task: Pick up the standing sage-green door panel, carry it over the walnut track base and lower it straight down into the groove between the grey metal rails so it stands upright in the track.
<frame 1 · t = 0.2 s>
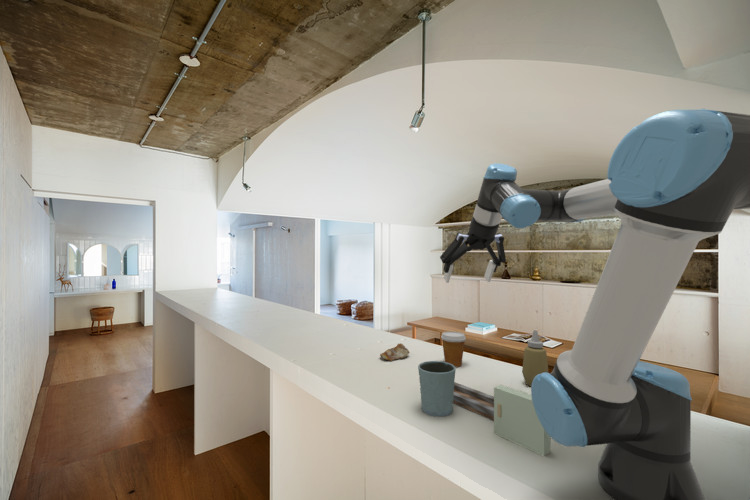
hand: (466, 279, 107), 35 cm above the worktop, tool tilted 35°, fingers open, 13 cm apart
squeeze bottle: (535, 385, 114), on the worktop
disposable coffee cup: (453, 365, 134), on the worktop
teal cup: (436, 410, 95), on the worktop
decorative stone: (394, 358, 143), on the worktop
door panel: (520, 441, 79), on the worktop
track base: (472, 403, 99), on the worktop
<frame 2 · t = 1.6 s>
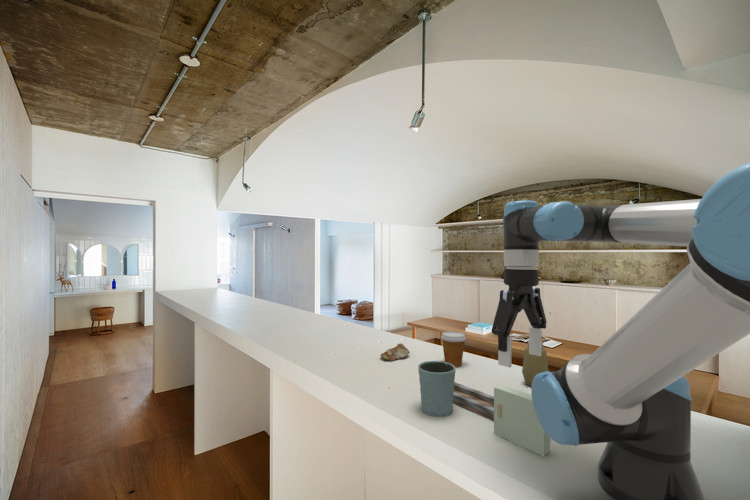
hand: (520, 360, 79), 19 cm above the worktop, tool pointing down, fingers open, 13 cm apart
nothing on the worktop moved.
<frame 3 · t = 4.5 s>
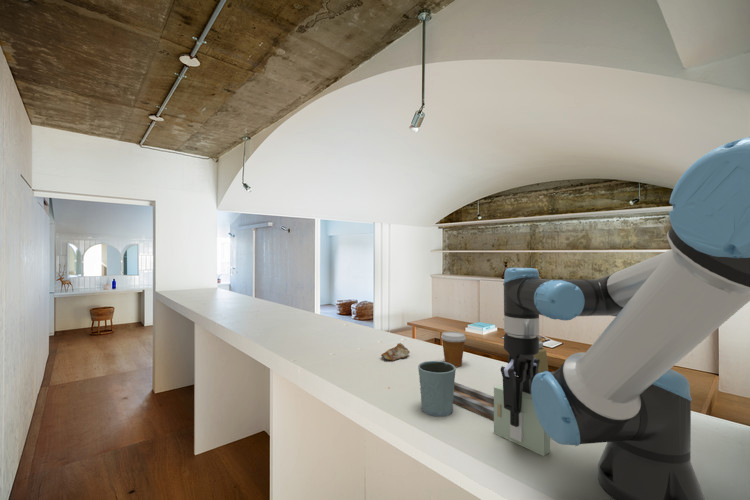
hand: (520, 436, 79), 1 cm above the worktop, tool pointing down, fingers closed on door panel, 3 cm apart
door panel: (520, 441, 79), on the worktop, touching gripper
everything else where it was.
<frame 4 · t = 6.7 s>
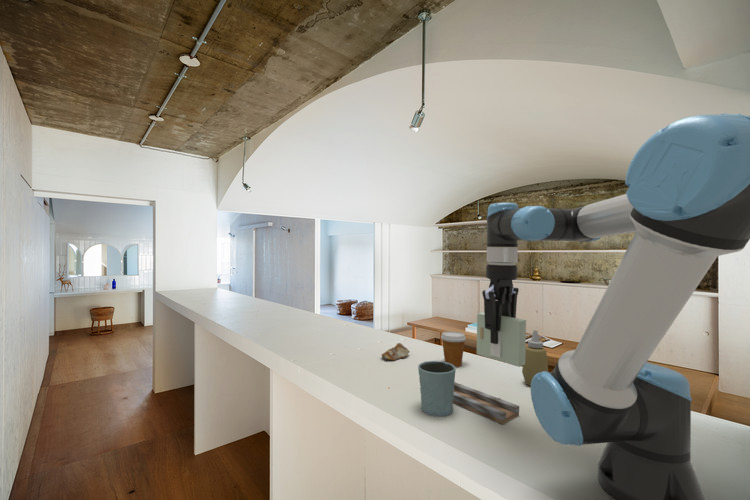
hand: (499, 354, 89), 17 cm above the worktop, tool pointing down, fingers closed on door panel, 3 cm apart
door panel: (499, 358, 89), point 16 cm above the worktop, touching gripper
everything else where it was.
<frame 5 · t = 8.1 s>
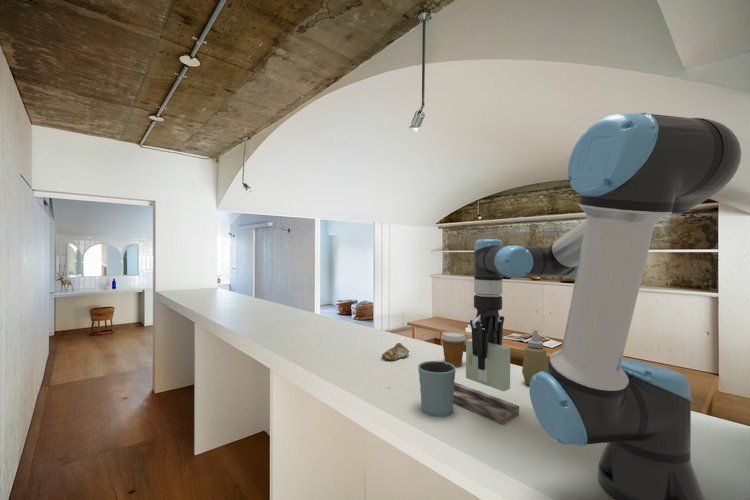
hand: (487, 379, 95), 8 cm above the worktop, tool pointing down, fingers closed on door panel, 3 cm apart
door panel: (487, 383, 95), point 7 cm above the worktop, touching gripper
everything else where it was.
when the fingers open (4 cm above the worktop, at t = 9.2 s): door panel drops 1 cm, resting on track base.
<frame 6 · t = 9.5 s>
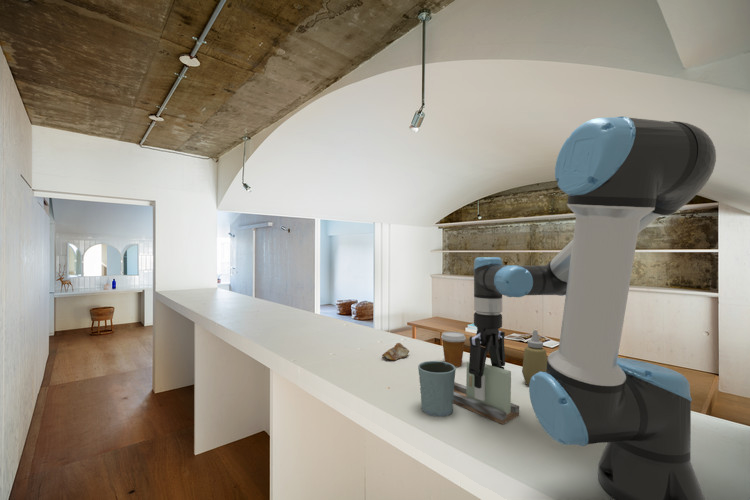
hand: (487, 395, 95), 4 cm above the worktop, tool pointing down, fingers open, 7 cm apart
door panel: (487, 406, 95), point 1 cm above the worktop, touching track base
everything else where it was.
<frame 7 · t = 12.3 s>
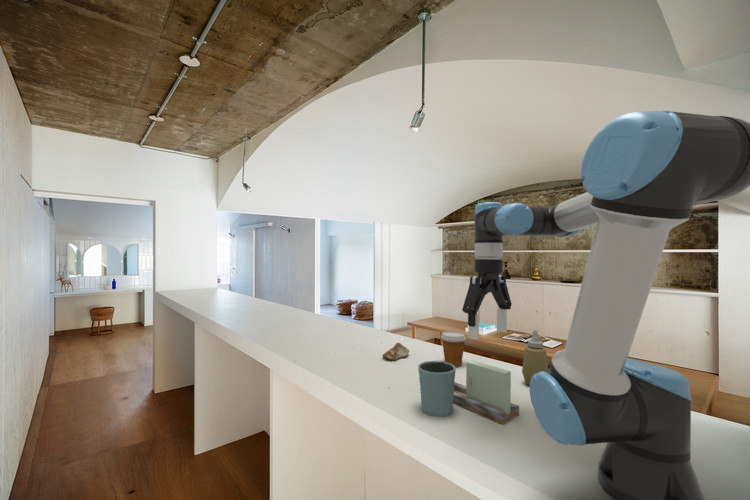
hand: (488, 335, 95), 21 cm above the worktop, tool pointing down, fingers open, 13 cm apart
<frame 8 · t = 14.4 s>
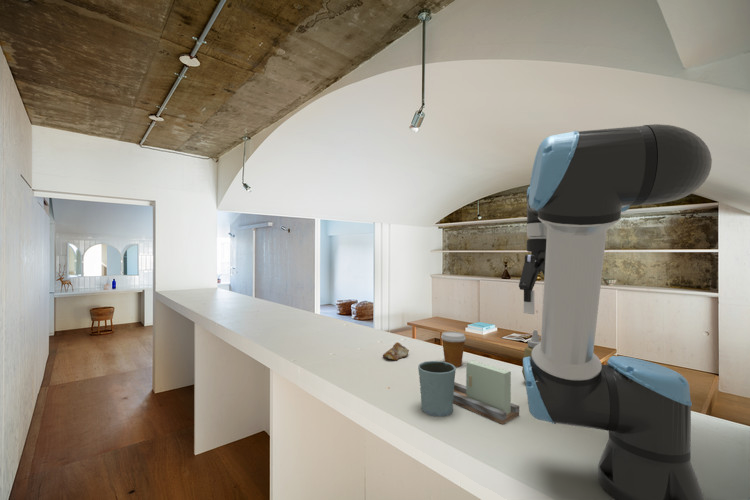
hand: (540, 311, 100), 27 cm above the worktop, tool pointing down, fingers open, 13 cm apart
at the end: door panel inside the target area on the track base (0.0 cm from its centre), point 1.0 cm above the track base's base; door panel tilted 0°; the gripper is holding nothing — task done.
